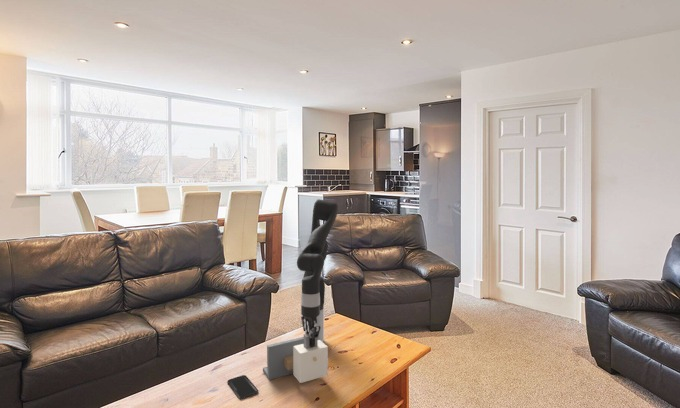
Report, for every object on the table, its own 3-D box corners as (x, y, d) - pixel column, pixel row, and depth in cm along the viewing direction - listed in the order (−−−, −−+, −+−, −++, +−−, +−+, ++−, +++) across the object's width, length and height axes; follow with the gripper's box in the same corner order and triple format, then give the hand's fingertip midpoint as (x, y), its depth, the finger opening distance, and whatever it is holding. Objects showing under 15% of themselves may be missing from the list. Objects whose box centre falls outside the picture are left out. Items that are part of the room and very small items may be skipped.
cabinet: (293, 374, 151) (293, 334, 149) (319, 367, 157) (320, 328, 155) (301, 384, 144) (301, 342, 142) (328, 376, 150) (329, 335, 148)
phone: (245, 374, 156) (259, 391, 144) (245, 377, 156) (259, 394, 144) (226, 380, 152) (239, 398, 139) (226, 383, 152) (239, 401, 140)
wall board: (262, 371, 160) (262, 339, 159) (305, 359, 170) (305, 330, 169) (272, 385, 150) (272, 351, 148) (317, 372, 159) (317, 340, 158)
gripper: (327, 307, 144) (326, 350, 146) (311, 296, 156) (311, 336, 158) (309, 310, 140) (309, 354, 142) (295, 299, 152) (295, 340, 154)
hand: (310, 344), depth 150 cm, fingers closed on cabinet, 2 cm apart
